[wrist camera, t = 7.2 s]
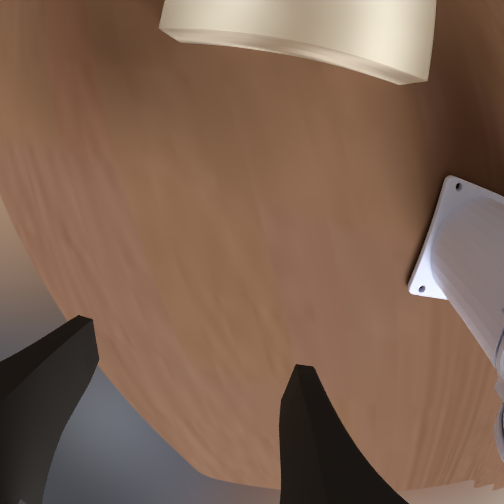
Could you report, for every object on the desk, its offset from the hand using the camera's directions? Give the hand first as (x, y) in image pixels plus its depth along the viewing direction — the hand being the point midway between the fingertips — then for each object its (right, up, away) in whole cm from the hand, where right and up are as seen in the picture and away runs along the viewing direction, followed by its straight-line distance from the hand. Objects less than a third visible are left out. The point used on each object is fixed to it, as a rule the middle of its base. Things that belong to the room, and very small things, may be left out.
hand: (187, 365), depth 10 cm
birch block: (+5, +20, +2) cm, 20 cm away
